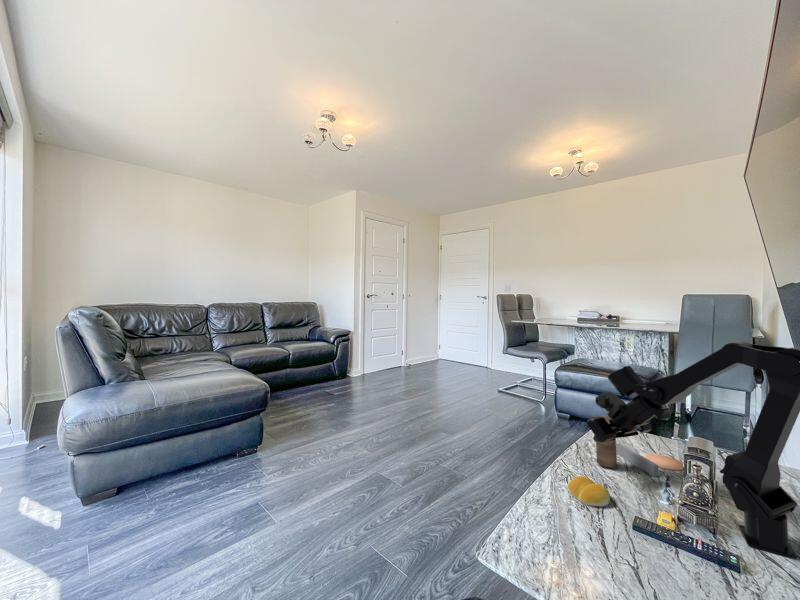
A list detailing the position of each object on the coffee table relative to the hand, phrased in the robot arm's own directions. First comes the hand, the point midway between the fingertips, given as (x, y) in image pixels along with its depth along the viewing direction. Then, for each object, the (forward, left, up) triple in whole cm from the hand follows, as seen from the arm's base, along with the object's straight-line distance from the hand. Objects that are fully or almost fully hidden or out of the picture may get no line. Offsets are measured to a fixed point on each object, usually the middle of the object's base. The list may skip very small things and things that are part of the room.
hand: (601, 438), depth 97 cm
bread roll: (-21, +2, -8) cm, 22 cm away
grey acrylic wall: (+4, -8, -7) cm, 12 cm away
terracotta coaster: (+9, -15, -7) cm, 19 cm away
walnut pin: (-1, -1, -7) cm, 7 cm away
